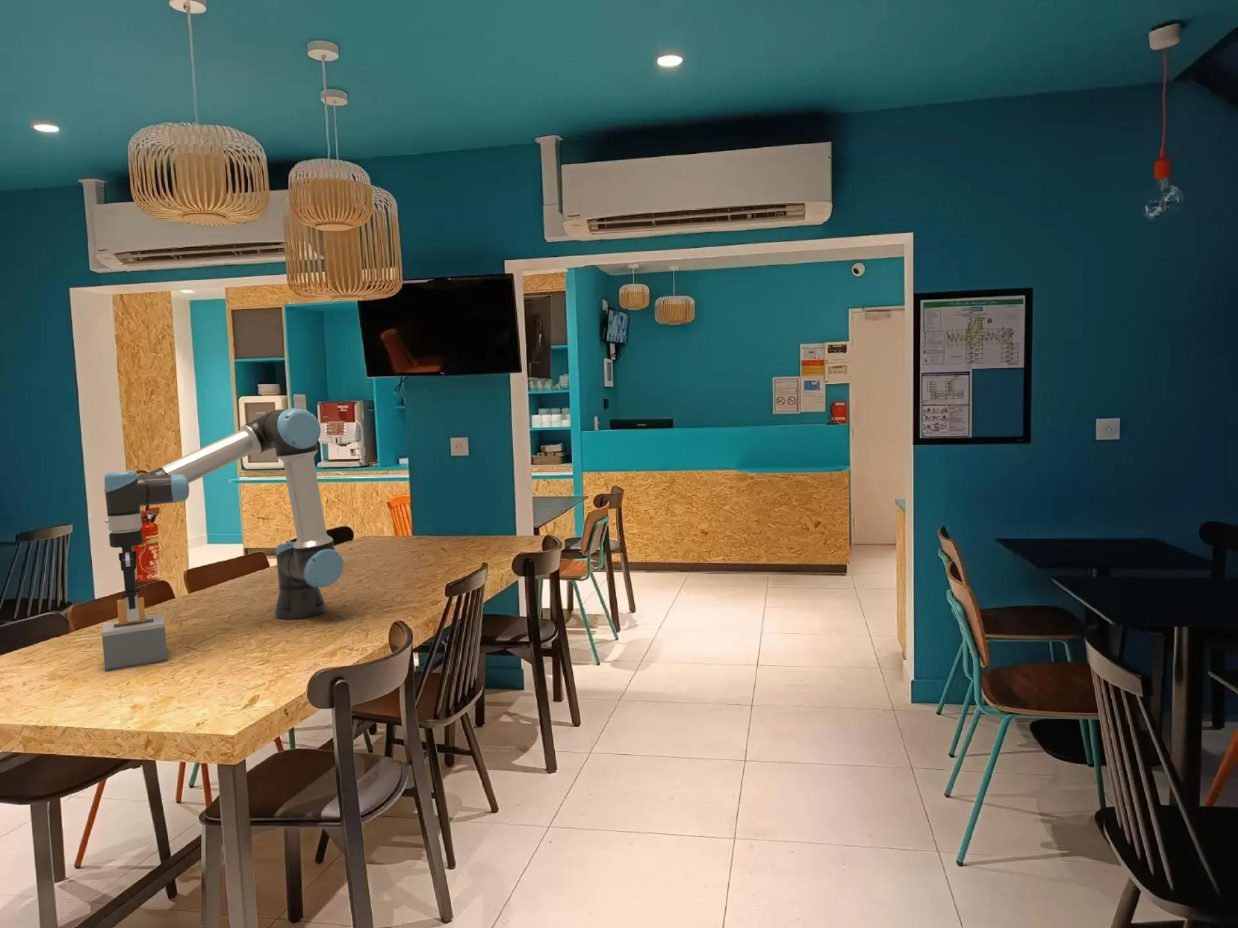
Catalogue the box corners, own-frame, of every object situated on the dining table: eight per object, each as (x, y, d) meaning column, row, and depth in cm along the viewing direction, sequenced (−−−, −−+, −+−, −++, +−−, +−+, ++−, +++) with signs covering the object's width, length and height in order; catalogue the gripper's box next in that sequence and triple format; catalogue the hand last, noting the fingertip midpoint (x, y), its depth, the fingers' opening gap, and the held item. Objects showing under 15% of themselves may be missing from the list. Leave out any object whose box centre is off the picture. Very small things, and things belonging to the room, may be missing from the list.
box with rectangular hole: (166, 650, 232) (163, 614, 231) (167, 660, 221) (164, 623, 221) (107, 659, 225) (103, 622, 224) (105, 671, 215) (101, 632, 214)
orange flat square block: (145, 619, 225) (143, 596, 224) (145, 621, 223) (143, 598, 222) (119, 622, 222) (117, 600, 221) (118, 624, 220) (117, 601, 219)
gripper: (109, 529, 226) (117, 615, 227) (107, 535, 212) (116, 628, 214) (142, 525, 229) (149, 611, 231) (141, 532, 216) (150, 623, 217)
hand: (133, 619), depth 222 cm, fingers open, 3 cm apart
